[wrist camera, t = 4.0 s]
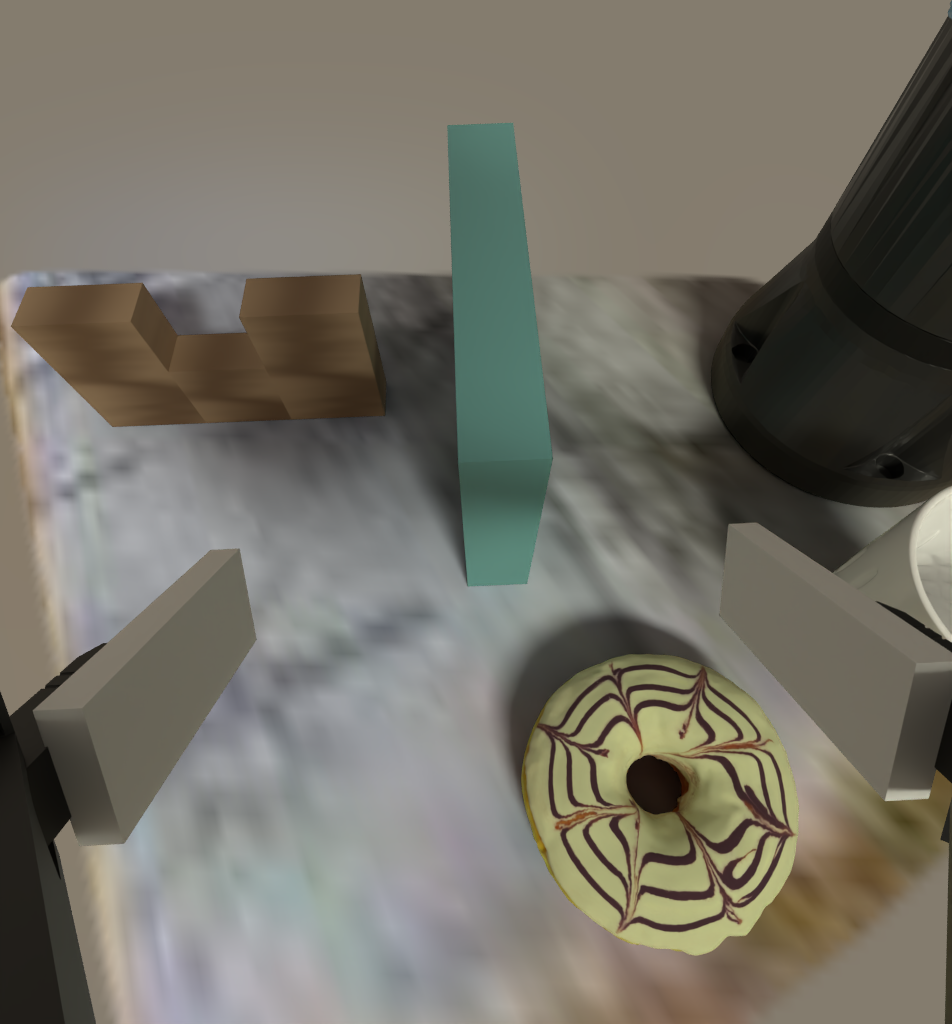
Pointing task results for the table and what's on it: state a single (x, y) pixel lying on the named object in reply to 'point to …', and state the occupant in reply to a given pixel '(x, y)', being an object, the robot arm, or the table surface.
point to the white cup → (911, 565)
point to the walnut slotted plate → (212, 353)
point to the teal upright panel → (495, 358)
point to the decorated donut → (668, 836)
